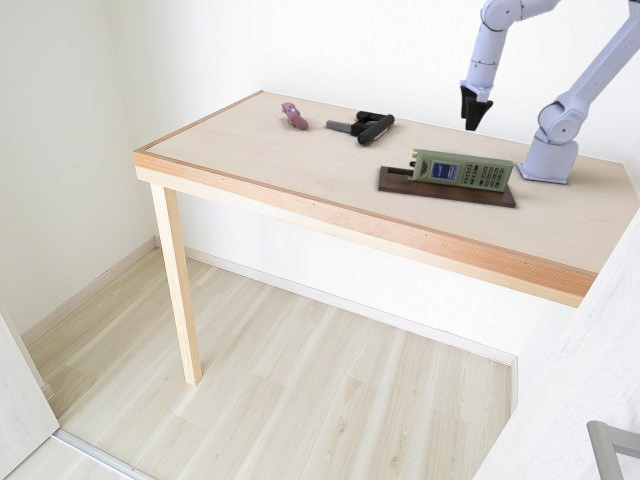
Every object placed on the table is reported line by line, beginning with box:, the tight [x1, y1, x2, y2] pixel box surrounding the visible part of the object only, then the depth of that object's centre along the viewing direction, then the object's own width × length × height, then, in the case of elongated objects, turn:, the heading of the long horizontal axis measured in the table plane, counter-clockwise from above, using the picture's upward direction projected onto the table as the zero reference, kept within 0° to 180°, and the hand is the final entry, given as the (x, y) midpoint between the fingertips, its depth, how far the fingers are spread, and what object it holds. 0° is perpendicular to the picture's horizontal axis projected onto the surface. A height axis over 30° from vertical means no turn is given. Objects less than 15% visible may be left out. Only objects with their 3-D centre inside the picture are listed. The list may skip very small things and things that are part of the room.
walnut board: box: [377, 165, 517, 209], centre depth 90 cm, size 28×10×1 cm, turn 81°
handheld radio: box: [387, 148, 515, 193], centre depth 88 cm, size 7×3×25 cm
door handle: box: [325, 110, 396, 146], centre depth 114 cm, size 3×20×16 cm
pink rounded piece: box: [280, 100, 309, 130], centre depth 115 cm, size 10×5×7 cm, turn 17°
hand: (467, 124), depth 95 cm, fingers open, 7 cm apart
